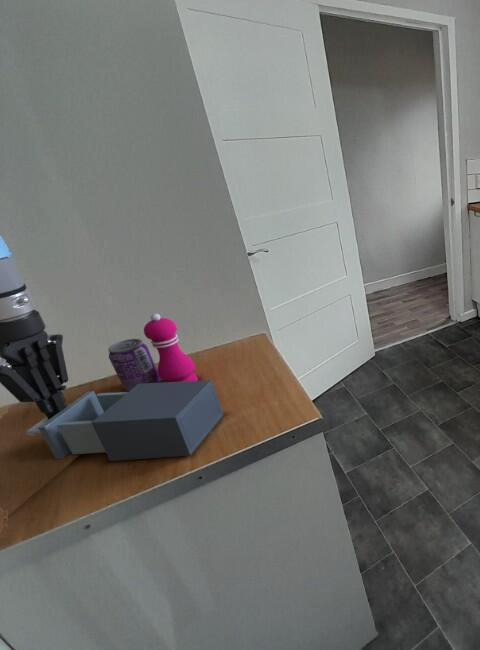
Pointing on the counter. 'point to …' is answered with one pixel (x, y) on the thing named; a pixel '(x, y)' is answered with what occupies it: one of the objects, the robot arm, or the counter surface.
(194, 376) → the pepper mill
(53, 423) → the drawer
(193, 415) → the cabinet
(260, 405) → the counter surface
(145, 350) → the beverage can
